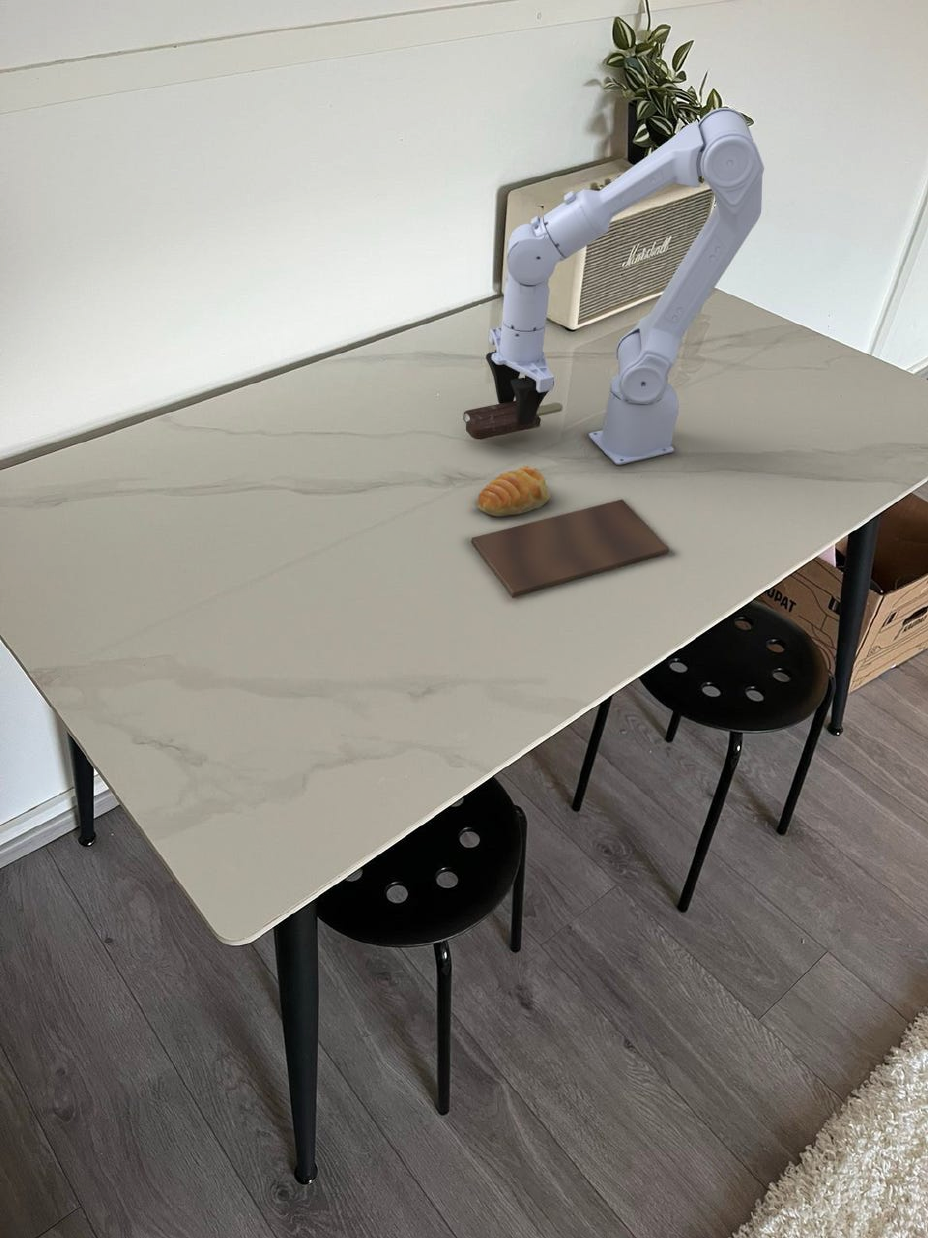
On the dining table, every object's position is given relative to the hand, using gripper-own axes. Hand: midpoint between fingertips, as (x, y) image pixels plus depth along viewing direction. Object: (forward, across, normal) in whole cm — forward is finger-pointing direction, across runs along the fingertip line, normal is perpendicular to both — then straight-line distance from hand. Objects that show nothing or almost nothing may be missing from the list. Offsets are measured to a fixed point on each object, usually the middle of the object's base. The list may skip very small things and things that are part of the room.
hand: (515, 412), depth 143 cm
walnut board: (+4, +25, -5) cm, 26 cm away
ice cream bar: (+2, 0, 0) cm, 2 cm away
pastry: (+4, +14, -7) cm, 16 cm away
